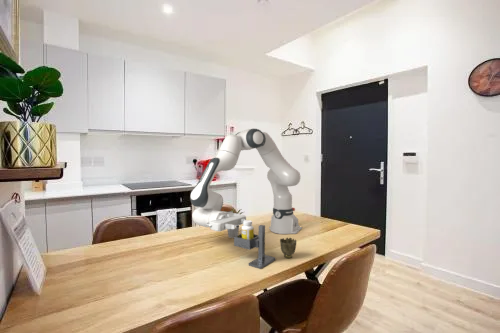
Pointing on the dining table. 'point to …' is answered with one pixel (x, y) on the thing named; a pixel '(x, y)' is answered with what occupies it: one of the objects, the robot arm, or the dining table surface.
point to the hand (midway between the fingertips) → (241, 225)
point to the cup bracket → (258, 243)
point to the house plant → (233, 232)
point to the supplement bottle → (247, 230)
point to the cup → (288, 247)
